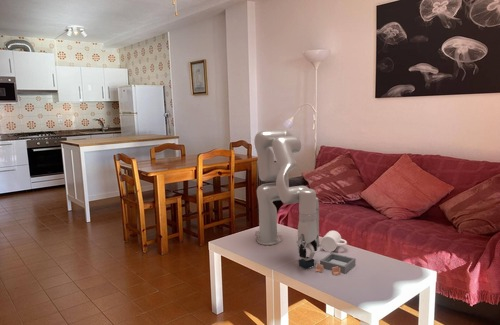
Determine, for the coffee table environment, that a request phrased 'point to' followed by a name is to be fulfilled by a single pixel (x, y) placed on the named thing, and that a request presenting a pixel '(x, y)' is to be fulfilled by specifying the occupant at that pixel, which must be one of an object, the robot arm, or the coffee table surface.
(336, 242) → the mug
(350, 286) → the coffee table surface
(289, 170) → the robot arm
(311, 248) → the watch
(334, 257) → the holder
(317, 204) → the water bottle
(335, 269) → the clip
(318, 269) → the clip
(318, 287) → the coffee table surface
